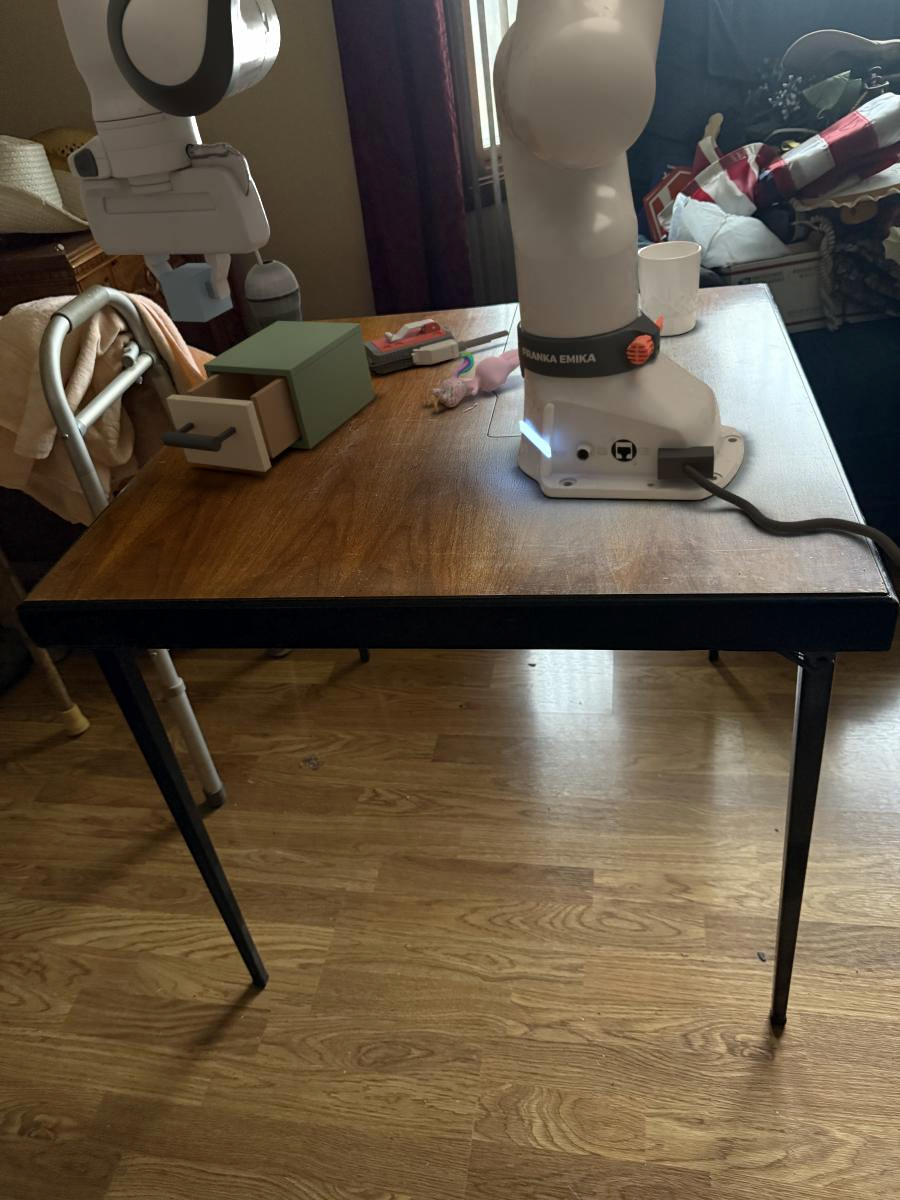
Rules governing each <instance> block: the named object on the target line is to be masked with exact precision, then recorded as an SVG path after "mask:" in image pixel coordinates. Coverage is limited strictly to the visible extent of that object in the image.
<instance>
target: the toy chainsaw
mask: <svg viewBox="0 0 900 1200" xmlns="http://www.w3.org/2000/svg"><path fill="white" fill-rule="evenodd" d="M383 335H384V337H381V338H378V339H374V340H370V341H367V342H364V346H365V351H366V356H367V361H368V366H369V371H370V372H376V374H378V375H386V374H390V373H393V372H396V371H400V370H403V369H407V368H410V367H415V366H421V365H422V366H423V365H433V364H437V363H440V362H445V361H447V360H452V359H457V358H460V353H462V352H465V351H466V350H467V349H471V348H475V347H479V346H482V345H487V344H491V342H492V341H494V340H498V339H501V338H504V337H507V336H509V335H510V332H509V330H508V329H504V330H500V331H497V332H493V333H490V334H486V335H483V336H479V337H475V338H472V339H471V338H470V339H468V340H465V341H464V340H461V341H458V342H456V341H455V340H456V336H455V334H454V333H452V332H451V331H450V330H449V328H448V327H447V326H443V325H441V324H440V323H438V322H436V321H435V320H433V319H432V318H424V319H421V320H419V321H414V322H410V323H406V324H403V326H402V327H401V328H400V329H399V330H398V331H397V333H395V334H393V333H391V332H390V331H385V332H384V333H383Z"/></svg>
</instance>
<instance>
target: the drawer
mask: <svg viewBox="0 0 900 1200" xmlns="http://www.w3.org/2000/svg"><path fill="white" fill-rule="evenodd" d="M165 401H166V403H167V406H168V409H169V412H170V415H171V418H172V421H173V423H174V426H175V429H176V431H170V430H166V431H164V432H163V433H162V436H161V442H162V444H163V445H164V446H165V447H171V448H179V449H180V448H181V449H182V451H183V452H184V456H185V458H186V461H187V463H193V464H194V463H195V464H201V465H208V466H218V467H225V468H231V469H232V468H233V469H240V470H248V471H256V472H261V473H266V472H267V471H269V469H271V468H272V464H271V461H270V459H274V458H275V457H277V456H278V455H280V454H281V453H283V452H284V451H285V450H286V449H288V448H290V447H289V446H290V445H291V444H292V443H294V442H295V441H296V440H298V439H299V438H300V437H302V436H301V432H300V428H299V424H298V420H297V416H296V412H295V408H294V405H293V401H292V397H291V393H290V389H289V385H288V381H287V376H275V375H260V374H245V373H230V372H218V373H216V374H214V375H213V376H211V377H209V378H206V379H204V380H202V381H201V382H199V383H198V384H196V385H194V386H193V387H191V388H190V389H188V390H186V395H185V394H171V395H169V396H168V397H166V398H165Z"/></svg>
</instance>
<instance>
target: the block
mask: <svg viewBox="0 0 900 1200" xmlns="http://www.w3.org/2000/svg"><path fill="white" fill-rule="evenodd" d="M211 266H212V265H207V264H206V262H188V263H185V264H183V265H181V266H179V267H176V268H174V269H173V270H172V271H170V272H167V273H165V274H163V275H161V276H159V280H160V281H159V280H158V281H159V283H160V286H161V290H162V292H163V296H164V299H165V301H166V306H167V308H168V311H169V315H170V317H171V321H172V322H189V323H190V322H191V323H194V322H195V323H206V322H209V321H211V320H212V319H214V318H217V317H218V316H220V315H222V314H223V313H226V312H227V311H229V310H231V309H233V308H234V306H233V302H232V298H231V294H230V295H229V296H228V297H226V298H224V299H210V298H209V296H208V291H207V289H206V286H205V282H207V281H209V280H210V277H211Z"/></svg>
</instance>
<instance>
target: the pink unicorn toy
mask: <svg viewBox="0 0 900 1200" xmlns="http://www.w3.org/2000/svg"><path fill="white" fill-rule="evenodd" d="M459 358H461V359H463V360H462V362H461V363H460V364H459V365H458V366H457V367H456V370H455V371H454V374H453V375H452V377H450V378H448V379H446V380H444V381H443V382H442V383H441V385H440V386H439V387H438V388H430V389H429V391H428V393H427V394H426V393H425V392H423V395H424V399H425V401H424V402H425V404H427V407H429V406H430V400H429V399H430V396H431V395H433V396H434V397H435V398H436V399H434V398H431V400H432V401H433V402H432V404H433V410H434V409H435V410H436V413H438V412H439V407H438V403H442V404H443V405H444V406H445V407H446V408H455V407H456V406H458V404H459V403H460V402H461V401H462V400H463V398H464V397H465V396H470V395H471V396H473V397H474V396H476V394H477V393H478V391H479V387H480V390H481V391H486V392H487V393H492V392H493V391H495V390H497V389H499V388H500V387H501V386H502V385H503V384H505V383H506V382H507V380H508V378H509V376H510V374H511V373H512V372H514V371H515V370H516V369H517V368H519V367H520V362H519V356H518V348H511V349H509V350H506V351H504V352H503V353H501V354H500V355H498V356H496V355H492V356H487V357H485V358H483V359H481V361H479V362H478V364H477V365H476V367H475V370H474V377H473V378H465V377H460V376H461V375H463V374H466V373H468V372H469V371H471V370H472V369H473V367H474V364H475V358H474V356H473V354H472V353H471V352H464V353H462V354H461V355H459Z"/></svg>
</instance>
